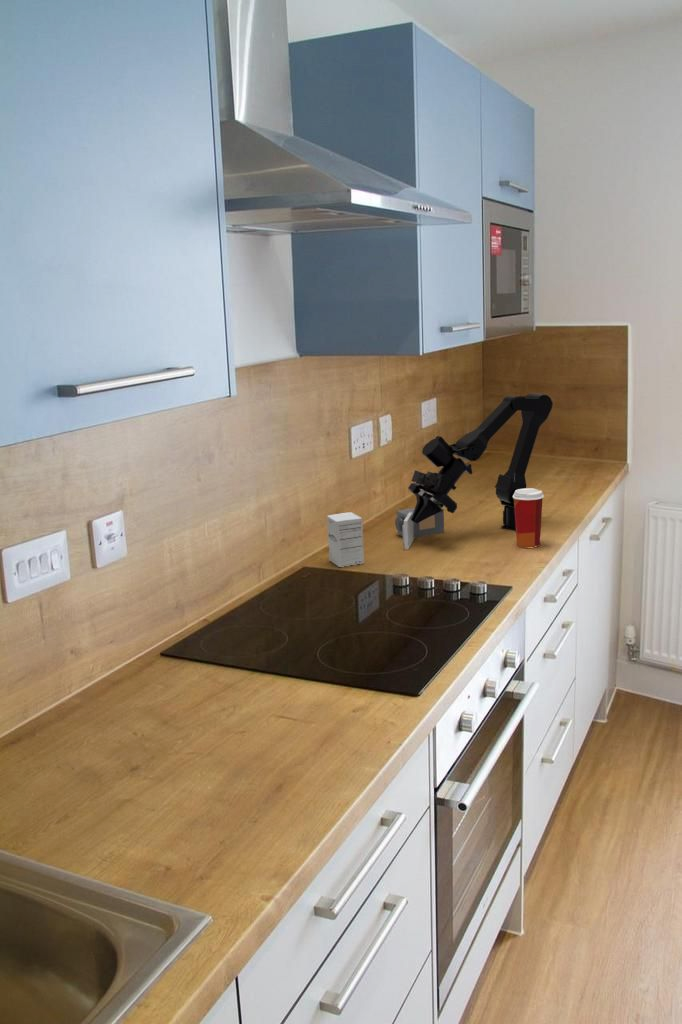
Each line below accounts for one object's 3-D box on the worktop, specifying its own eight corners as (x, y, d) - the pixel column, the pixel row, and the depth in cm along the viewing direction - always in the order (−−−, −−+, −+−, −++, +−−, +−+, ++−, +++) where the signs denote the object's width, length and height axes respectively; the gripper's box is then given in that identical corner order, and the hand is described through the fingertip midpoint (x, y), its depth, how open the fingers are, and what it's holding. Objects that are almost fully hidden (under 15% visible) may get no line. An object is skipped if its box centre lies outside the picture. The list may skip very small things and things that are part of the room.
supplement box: (328, 561, 236) (326, 515, 233) (354, 556, 239) (352, 511, 236) (338, 568, 230) (335, 521, 226) (365, 564, 232) (362, 517, 229)
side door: (409, 549, 242) (407, 521, 241) (402, 549, 243) (401, 521, 241) (414, 538, 253) (413, 511, 251) (408, 538, 253) (407, 511, 251)
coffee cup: (532, 539, 246) (532, 486, 242) (550, 546, 238) (550, 492, 234) (506, 543, 243) (506, 490, 239) (523, 551, 235) (522, 496, 232)
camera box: (434, 527, 262) (433, 502, 261) (444, 532, 257) (443, 507, 255) (394, 534, 258) (393, 509, 256) (403, 539, 252) (402, 513, 250)
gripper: (412, 454, 250) (379, 498, 249) (445, 464, 234) (410, 511, 232) (438, 477, 255) (405, 520, 254) (472, 489, 239) (437, 535, 237)
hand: (413, 521), depth 244 cm, fingers closed
